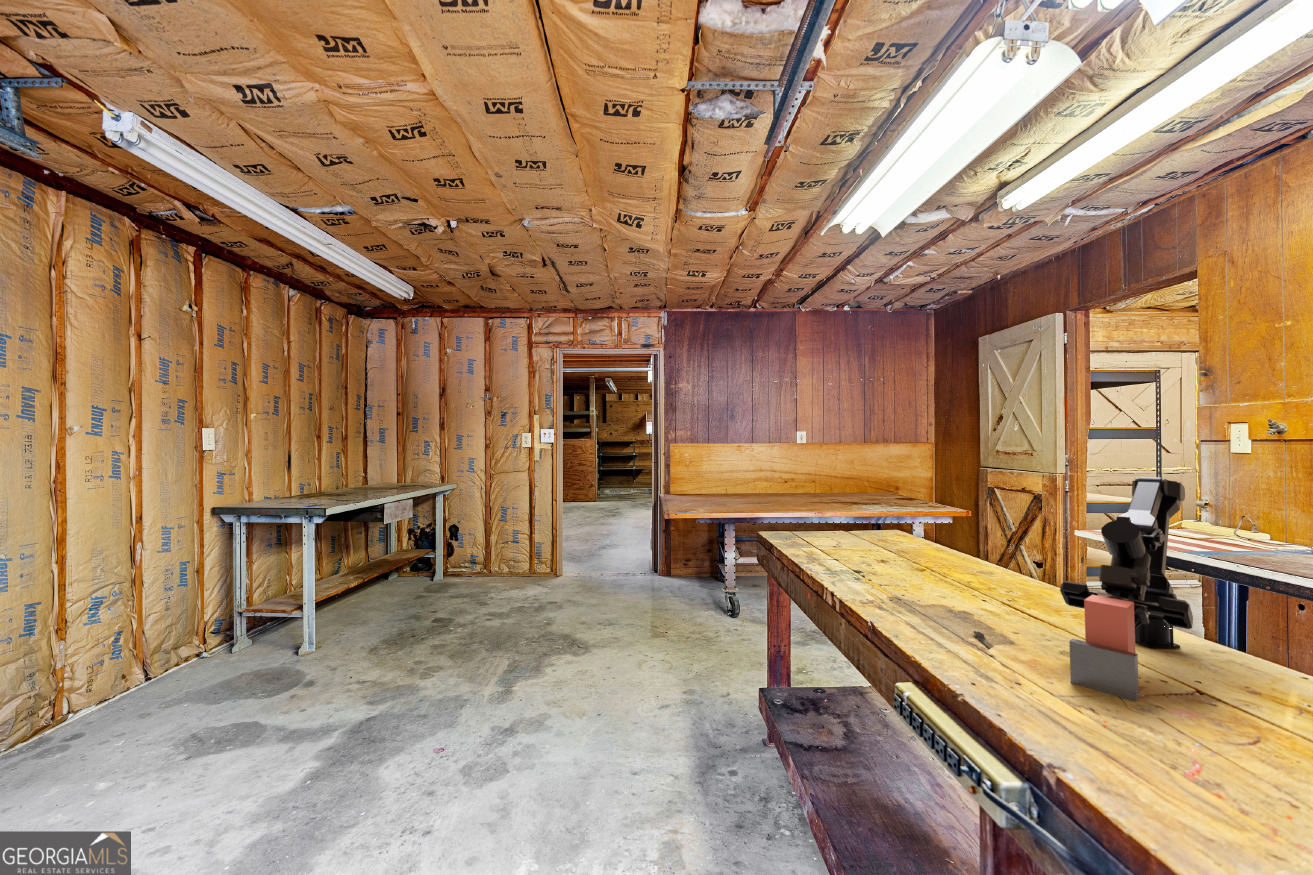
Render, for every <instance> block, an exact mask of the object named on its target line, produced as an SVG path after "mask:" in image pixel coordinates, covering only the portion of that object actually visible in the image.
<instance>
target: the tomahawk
mask: <svg viewBox="0 0 1313 875" xmlns="http://www.w3.org/2000/svg"><path fill="white" fill-rule="evenodd" d="M973 633H974V635H975V636H976V638H977V640H978V641H979V642H980V643H981V644H982V645H984V647H986V648H987V649H988V650H991V649H993V648H994V647H995V646H994V645H993V644H992V643H991V642H989V641H988V640H987V639H986V637H985V634H984V633H982V632H981V631H979V630H978V631H976V630H974V631H973Z"/></svg>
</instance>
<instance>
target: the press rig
mask: <svg viewBox="0 0 1313 875" xmlns="http://www.w3.org/2000/svg"><path fill="white" fill-rule="evenodd" d="M1068 643H1069V664H1070V667H1069V668H1070V670H1069V671H1070V672H1069V673H1070V683H1071V684H1073V685H1076V686H1080V687H1083V688H1087V689H1090V690H1094V691H1097V692H1101V693H1104V694H1106V695H1107V694H1108V695H1110V696H1114V697H1117V698H1119V699H1120V698H1122V699H1124V700H1128V701H1131V702H1134V703H1137V702H1138V701H1139V699H1140V696H1141V697H1144V696H1145V695H1144V694H1142V693H1140V686H1139V659H1138V658H1139V657H1138V655H1139V654H1138V653H1132V652H1128V651H1123V650H1119V649H1115V648H1111V647H1107V646H1102V645H1098V644H1094V643H1090V642H1086V640H1080V639H1077V638H1071V639H1070V640H1069V642H1068Z"/></svg>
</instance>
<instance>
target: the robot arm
mask: <svg viewBox="0 0 1313 875" xmlns="http://www.w3.org/2000/svg"><path fill="white" fill-rule="evenodd" d="M1131 496H1132V497H1131V501H1130V504H1129V506H1128V510H1127V512H1125V513H1122V514H1119V515H1117V516H1116V519H1114V520H1111V521H1109V522H1107V523H1105V524H1104V525H1103V526H1102V527H1101V530H1100V531H1101V532H1100V533H1101V536H1102V538H1103V541H1104V543H1105V547H1106V549H1107V551H1108V554H1109V555H1111V560H1110V565H1108V564H1101V565H1100V568H1099V569H1100V571H1099V580H1098V581H1099V582H1101V584H1100V588H1101V590H1102V591H1101V590H1097V591H1096V592H1093V591H1090V590H1089V588H1088V585H1087V584H1086V583H1081V582H1075V581H1071V580H1070V581H1069V580H1066V581H1063V582H1062V583H1061V584H1060V589H1059V592H1060V594H1061V597H1062V598H1063V600H1064V602H1065V604H1066V605H1067V606H1069V607H1073V608H1078V609H1084V600H1085V599H1086V598H1088V597H1089V596H1091V595H1096V596H1102V597H1108V598H1113V599H1119V600H1125V601H1130V602H1134V622H1135V643H1139V644H1141V645H1143V646H1145V647H1147V648H1150V649H1181V645H1180V644H1177V643H1175V642H1174V640H1175V639H1174V627H1176V628H1181V629H1187V630H1189V629H1193V625H1194V623H1193V622H1194V615H1193V612H1192V609H1191V605H1190V603H1189V602H1188V601H1186V600H1185V599H1178V597H1177V595H1176V593H1174V592H1175V591H1174V588H1173V587H1172V585H1171V583H1170V581H1169V580H1168V578H1167V577H1166V576H1165V575H1166V568H1167V567H1166V566H1167V565H1166V564H1167V553H1168V545H1169V544H1168V542H1169V530H1170V521H1171V518H1173V516H1174V515H1176V514H1177V513H1178V512H1179V511H1180V510H1181V505H1182V501H1183V502H1184V501H1185V500H1186V488H1185V485H1183V484H1182V483H1181V482H1179V481H1177V480H1168V479H1167V478H1163V477H1160V476H1139V477H1135V479H1134V480H1132V481H1131ZM1084 610H1085V609H1084ZM1164 626H1165V627H1164ZM1169 628H1172V629H1169Z"/></svg>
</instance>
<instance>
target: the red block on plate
mask: <svg viewBox="0 0 1313 875" xmlns="http://www.w3.org/2000/svg"><path fill="white" fill-rule="evenodd" d="M1084 629H1085V633H1084V635H1085V640H1084V641H1085V642H1090V643H1094V644H1098V645H1102V646H1107V647H1111V648H1115V649H1119V650H1123V651H1128V652H1132V653H1136V641H1135V622H1134V602H1130V601H1125V600H1119V599H1113V598H1108V597H1102V596H1096V595H1091V596H1089V597H1088V598H1086V599H1085V600H1084ZM1136 654H1137V653H1136Z"/></svg>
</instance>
